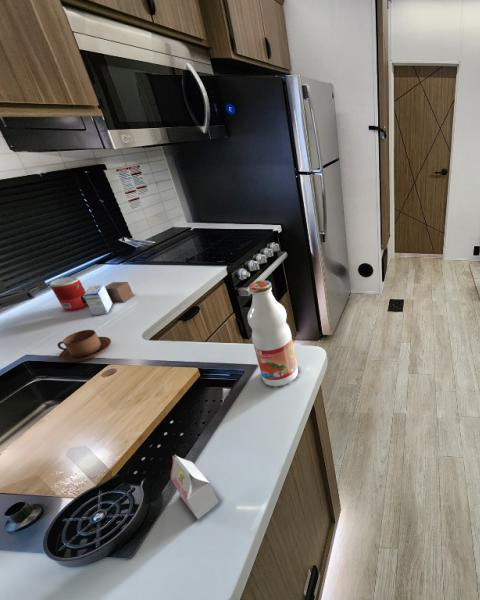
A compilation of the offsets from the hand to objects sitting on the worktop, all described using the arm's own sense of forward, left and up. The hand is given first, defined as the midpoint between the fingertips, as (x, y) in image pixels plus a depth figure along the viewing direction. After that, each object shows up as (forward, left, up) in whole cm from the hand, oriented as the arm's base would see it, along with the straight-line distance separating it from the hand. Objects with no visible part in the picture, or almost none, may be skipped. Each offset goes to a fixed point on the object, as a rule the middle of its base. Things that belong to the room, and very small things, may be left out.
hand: (24, 284), depth 108 cm
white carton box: (+85, -63, -16) cm, 107 cm away
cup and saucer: (+28, -17, -16) cm, 37 cm away
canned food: (0, +13, -16) cm, 20 cm away
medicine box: (+12, +10, -16) cm, 22 cm away
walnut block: (+12, +19, -16) cm, 27 cm away
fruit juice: (+90, -29, -16) cm, 96 cm away
